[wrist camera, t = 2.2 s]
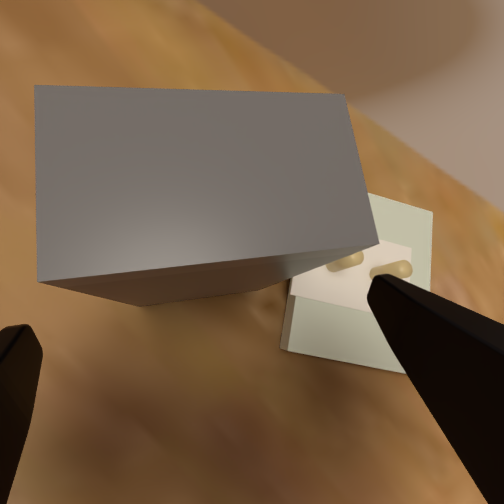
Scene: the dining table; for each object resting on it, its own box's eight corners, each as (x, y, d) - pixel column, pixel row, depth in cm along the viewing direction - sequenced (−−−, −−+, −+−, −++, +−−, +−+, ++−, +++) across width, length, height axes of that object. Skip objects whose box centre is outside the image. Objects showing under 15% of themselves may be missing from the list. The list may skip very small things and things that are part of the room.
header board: (408, 373, 19) (465, 387, 15) (273, 347, 18) (297, 355, 14) (416, 218, 22) (466, 197, 18) (300, 184, 21) (327, 153, 17)
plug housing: (258, 290, 18) (379, 243, 7) (139, 306, 17) (37, 282, 5) (249, 228, 19) (344, 94, 8) (134, 238, 17) (34, 84, 6)
